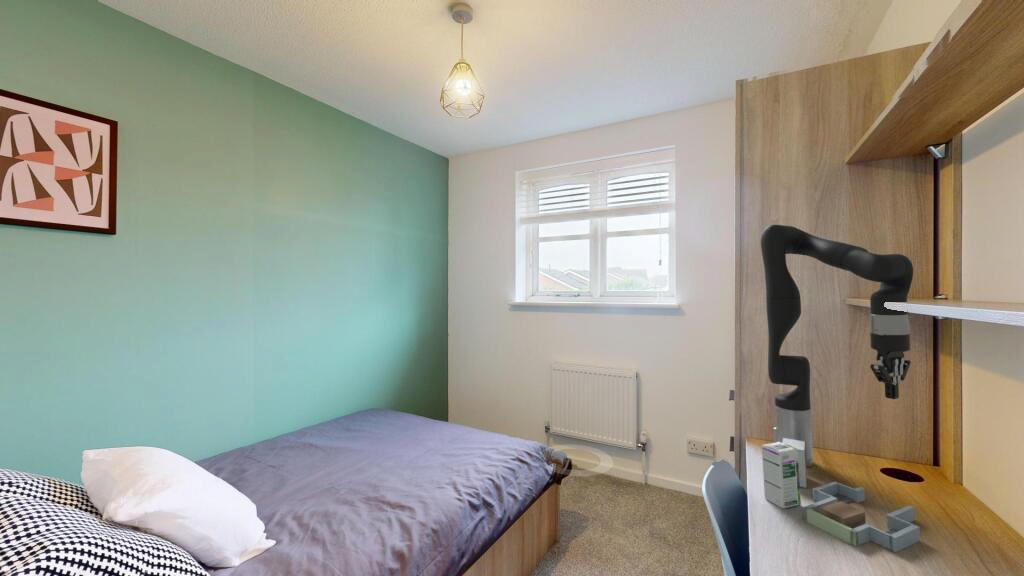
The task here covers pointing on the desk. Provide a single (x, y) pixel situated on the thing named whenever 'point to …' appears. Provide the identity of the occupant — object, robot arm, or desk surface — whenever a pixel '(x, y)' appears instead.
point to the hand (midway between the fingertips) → (891, 398)
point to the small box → (799, 458)
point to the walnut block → (844, 514)
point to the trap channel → (892, 539)
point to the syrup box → (781, 474)
